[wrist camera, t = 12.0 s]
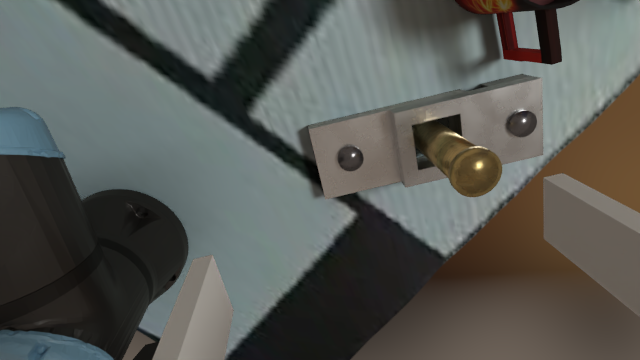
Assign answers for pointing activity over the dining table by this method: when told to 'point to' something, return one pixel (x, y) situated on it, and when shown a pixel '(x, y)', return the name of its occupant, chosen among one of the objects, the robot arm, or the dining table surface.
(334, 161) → the slotted metal plate
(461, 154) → the brass pin
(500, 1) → the mug
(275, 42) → the dining table surface
